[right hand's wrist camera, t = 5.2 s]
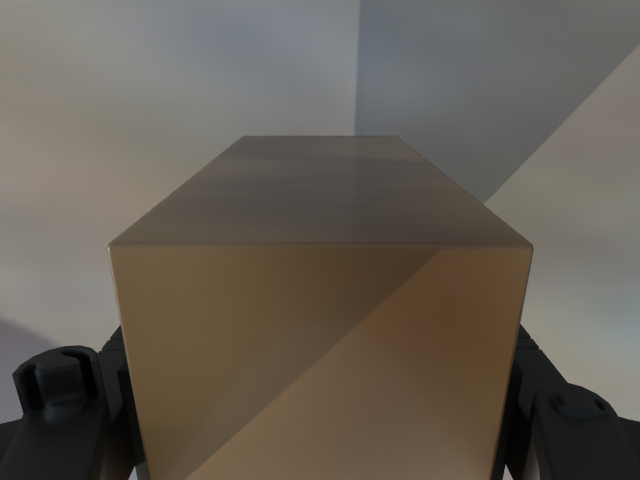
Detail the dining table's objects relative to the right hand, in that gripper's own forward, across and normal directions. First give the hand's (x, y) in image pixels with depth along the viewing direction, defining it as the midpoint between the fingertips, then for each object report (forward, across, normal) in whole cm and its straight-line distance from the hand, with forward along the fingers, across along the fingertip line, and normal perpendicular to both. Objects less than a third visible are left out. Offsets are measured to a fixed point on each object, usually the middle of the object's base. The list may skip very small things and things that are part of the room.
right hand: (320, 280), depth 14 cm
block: (+3, 0, 0) cm, 3 cm away
